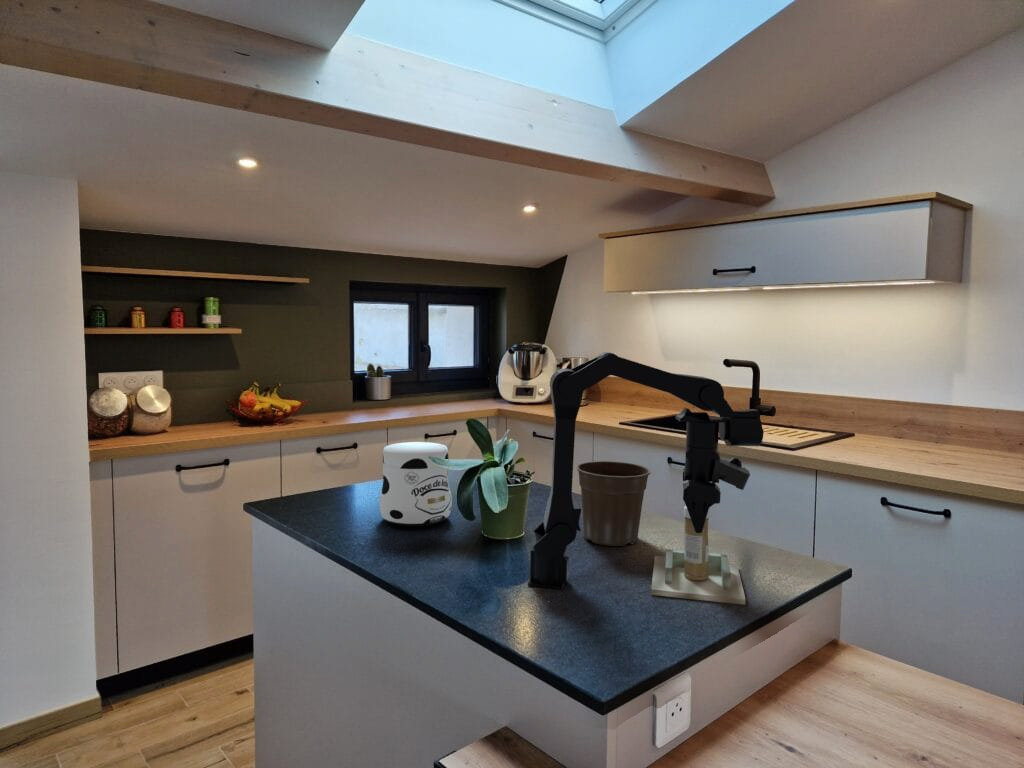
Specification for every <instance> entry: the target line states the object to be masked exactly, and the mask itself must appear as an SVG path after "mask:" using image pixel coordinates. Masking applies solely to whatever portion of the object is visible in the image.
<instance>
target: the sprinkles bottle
mask: <svg viewBox="0 0 1024 768" xmlns="http://www.w3.org/2000/svg"><path fill="white" fill-rule="evenodd" d="M683 516H684V538H683V539H684V550H683V551H684V559H685V572H684V576H685V577H686V578H688V579H691V580H699V581H700V580H705V579H707V578H708V577H709V574H708V553H709V518H710V509H709V510H708V513H707V516H706V520H705V524H704V527H703V531H702V533H696V532H695V529H694V526H693V524H692V521H691V518H690V515H689V512H688V510H687V507H686V505H685V506H684V507H683Z"/></svg>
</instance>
